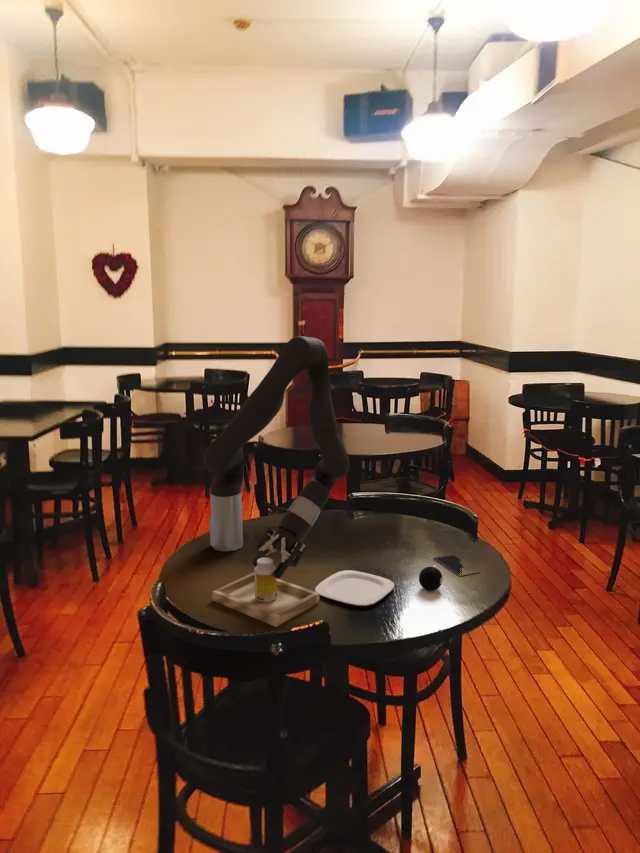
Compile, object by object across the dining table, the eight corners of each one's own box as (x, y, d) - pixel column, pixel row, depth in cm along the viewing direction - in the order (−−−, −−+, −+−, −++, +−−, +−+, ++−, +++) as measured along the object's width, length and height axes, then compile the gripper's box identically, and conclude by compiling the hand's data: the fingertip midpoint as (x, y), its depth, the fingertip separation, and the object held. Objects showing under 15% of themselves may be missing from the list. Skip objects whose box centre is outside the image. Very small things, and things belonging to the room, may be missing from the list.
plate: (368, 614, 164) (368, 608, 164) (306, 597, 174) (306, 590, 174) (401, 587, 179) (401, 581, 179) (343, 572, 189) (343, 566, 188)
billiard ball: (437, 596, 173) (438, 574, 172) (415, 591, 176) (415, 569, 175) (445, 587, 178) (445, 565, 177) (423, 582, 181) (424, 561, 180)
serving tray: (212, 600, 171) (212, 591, 171) (256, 579, 184) (256, 571, 183) (276, 627, 158) (276, 617, 157) (319, 602, 170) (319, 593, 169)
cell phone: (459, 578, 184) (459, 575, 184) (431, 559, 197) (432, 557, 197) (481, 573, 187) (481, 571, 187) (453, 555, 200) (453, 553, 200)
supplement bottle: (280, 600, 169) (279, 562, 167) (259, 605, 167) (258, 566, 165) (272, 591, 174) (271, 554, 172) (251, 596, 172) (250, 558, 170)
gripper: (274, 503, 177) (239, 556, 172) (309, 517, 167) (273, 573, 162) (291, 518, 182) (257, 570, 177) (325, 532, 171) (291, 587, 166)
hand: (264, 571), depth 169 cm, fingers open, 8 cm apart
